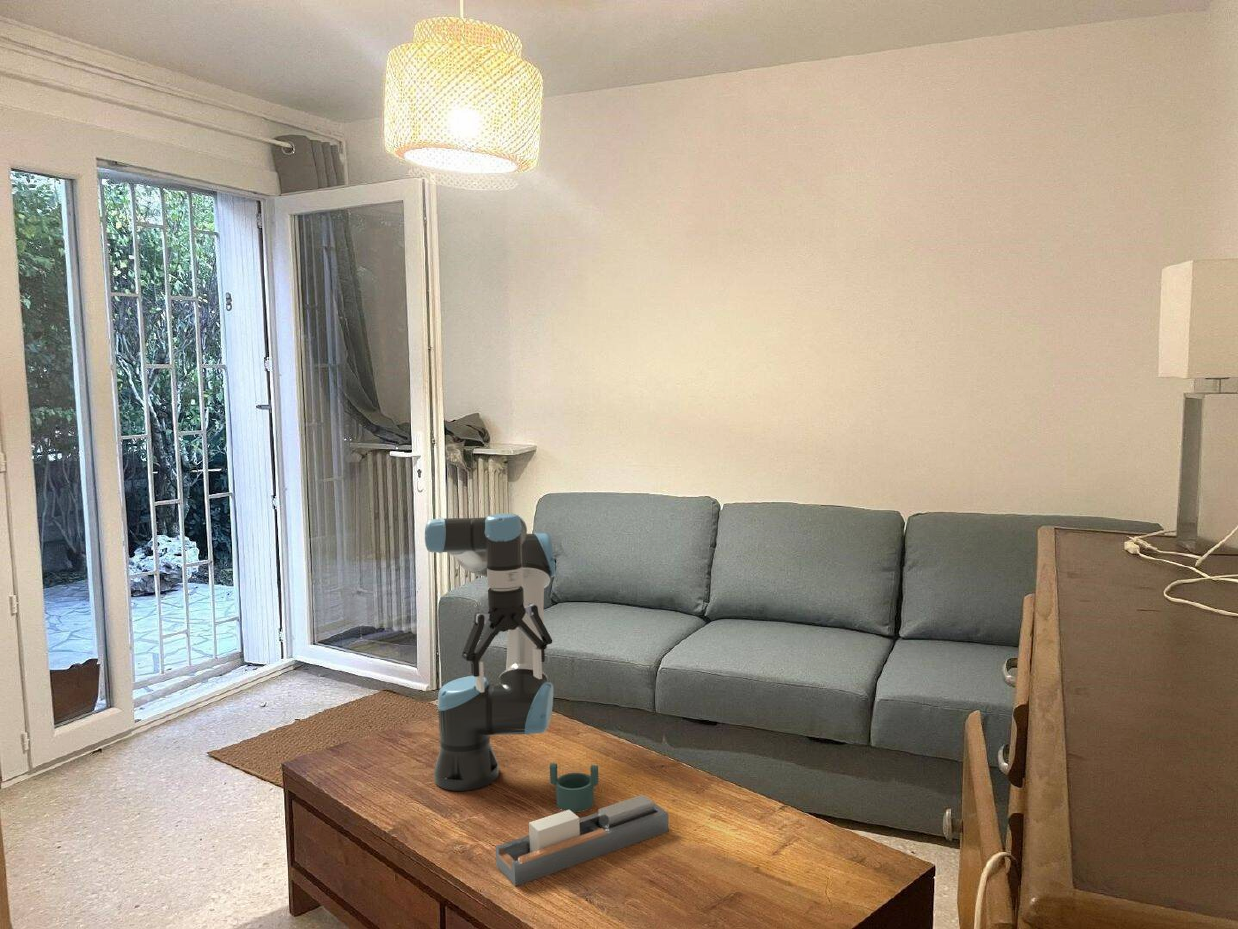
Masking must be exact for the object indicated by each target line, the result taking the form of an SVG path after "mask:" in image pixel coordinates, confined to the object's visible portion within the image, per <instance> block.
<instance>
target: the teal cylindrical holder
mask: <svg viewBox="0 0 1238 929" xmlns="http://www.w3.org/2000/svg"><path fill="white" fill-rule="evenodd" d="M589 769H590V774H587V773H583V772H569V773H566V774H562V775H560V776H559V777H558V763H554V762H553V763H550V765H549V781H550V782H549V783H550V784H551V785H553V786H555V795H556V796H555V800H556V807H557V808H558V809H559V810H560V809H562V810H561V811H563V810H565V811H566V810H570V811H572V812H573V813H579V812H578V811H581V812H584V811H583V810H585V811H587V810H590V809H591V808H592V807H593V806H594V802H595V794H594V792H595V791H594V788H595V787H597V786H598V785H599V783H600V782H599V781H600V778H599V765H596V764H590V768H589ZM592 805H593V806H592ZM586 809H587V810H586Z"/></svg>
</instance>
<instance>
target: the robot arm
mask: <svg viewBox="0 0 1238 929" xmlns="http://www.w3.org/2000/svg"><path fill="white" fill-rule="evenodd" d="M527 532H528V526H527V524H526V522H525V521H524V518H522V517H521V516H519V515H518V514H516V513H511V512H510V513H507V512H503V513H494V514H491V515H490V514H489V515H488V516H486V517H456V518H455V517H454V518H449V517H448V518H447V517H446V518H444V517H440V518H433V519H432V518H431V519H429V520H428V521H427V522H426V523H425V528H424V543H425V547H426V550H427V551H428V552H429V553H437V554H442V553H448V554H449V555H451V557H452V556H453V558H455V559H456V560H457V563H458V564H459V566H460V567H462V568H463V569H465V570H466V571H467V572H469V573H472V574H475V575H477V576H480V577H485V578H487V582H486V583H487V587H488V589H487V600H488V612H487V613H479V612H476V613H475V614H474V619H473V624H472V625H473V626H472V628H471V630H470V632H469V635H468V638H467V641H466V643H465V646H464V648H463V650H462V653H461V658H462V659H464V660H465V661H467V662H470V670H471V675H470V676H469V675H468V676H464V677H458V678H456V679H453V680H451V681H449V682H447V683H445V684H444V685H442V687H440V689H439V691H438V696H437V697H438V698H437V701H438V702H437V712H438V726H439V743H440V744H439V746H440V748H439V753H438V755H437V759H436V762H435V765H434V770H433V779H434V783H435V784H436V786H438V787H439V788H441V789H444V790H448V791H454V792H456V791H457V792H460V791H461V792H462V791H463V792H465V791H472V790H477V789H481V788H484V787H487V786H489V785H491V784H492V783H493V782H495V781H496V780H497V779H498V777H499V774H500V772H499V763H498V760H497V757H496V754H495V751H494V749H493V746H492V744H491V739H490V738H491V737H490V736H503V735H504V736H507V735H508V736H509V735H510V736H511V735H512V736H513V735H517V736H518V735H526V736H529V735H533V734H543V733H544V732H546V731H547V730H548V728H549V725H550V723H551V718H552V712H553V707H554V706H553V704H554V703H553V702H554V685H553V683H552V682H550V681H548V676H547V674H546V673H545V672H544V671H543V666H542V665H543V664H542V663H544V662H545V660H546V656H545V654H546V652H545V650H547V648H548V645H552V643H553V639H552V637H551V635H550V634H549V631H548V629H547V628H546V626H545V624H544V605H545V603H544V602H545V600H544V599H545V598H544V596H545V589H546V588H547V587H549V585H550V583H551V578H554V577H556V575H557V571H556V563H555V556H554V548H553V540H552V537H551V536H550V534H549V533H543V532H542V533H537V532H532V533H527ZM488 621H489V622H490V623H489V624H488V625H487V627H486V631H485V632H484V634H483V630H484V627H485V625H486V624H487V622H488ZM500 632H502V633H503V632H504V633H505V632H507V648H506V662H505V663H506V666H505V668H506V669H505V670H504V671H503V672H501V673H500V675H499V678H498V679H499V680H498V683H489V681H488V679H487V677H485V674H484V671H485V670H484V661H483V660H481V659H482V657H483V656H484V654H485V652H486V651H487V650H488V648H489V647H490V645H491V644H492V642H493V641H494V639H495V637H496V636H498V635H499V633H500ZM482 634H483V635H482ZM481 635H482V636H481Z"/></svg>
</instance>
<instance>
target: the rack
mask: <svg viewBox="0 0 1238 929" xmlns="http://www.w3.org/2000/svg"><path fill="white" fill-rule="evenodd" d="M669 826H670V825H669V812H668V811H667V810H665V809H664V808H662V807H661V806H659V805H658V804H656V803H655V802H654V800H651V799H650V797H648V796H647V795H644V794H641V795H638V796H635V797H632V798H628V799H626V800H623V801H619V802H617V803H613V804H611V805H607V806H604V807H601V808H599V809H598V812H596V813H592V814H589V815H587V816H586V815H585V816H584V817H581V818H580V817H579V828H580V836H578V837H575V838H572V839H569V840H566V841H563V842H561V843H558V844H555V845H552V846H549V847H546V848H543V849H540V850H537V851H534V852H531V853H530V838H529V835H526V836H523V837H520V838H517V839H514V840H509V841H508V842H505V843H502V844H498V845H495V865H496V867H497V869H499V871H500V872H501V873H502V874H503V875H504V876H505V877H506V878H507V879H508V880H509V881H510V883H511V884H513V885H514V886H515V887H518V886H521V885H523V884H526V883H528V882H532V881H535V880H537V879H540V878H543V877H546V876H548V875H552V874H554V873H557V872H559V871H561V870H564V869H568V868H571V867H573V866H577V865H579V864H581V863H584V862H587V861H590V860H593V859H596V858H598V857H602V856H604V855H607V854H610V853H612V852H614V851H615V852H616V851H618V850H620V849H623V848H626V847H629V846H632V845H634V844H637V843H640V842H643V841H645V840H648V839H652V838H653V837H657V836H660V835H662V834H665V833H668V832H669V829H670V828H669Z"/></svg>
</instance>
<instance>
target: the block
mask: <svg viewBox="0 0 1238 929" xmlns="http://www.w3.org/2000/svg"><path fill="white" fill-rule="evenodd" d="M579 819H580V817H579V816H578V815H576V813H575V812H572V811H570V810H566V811H563V810H562V811H561V812H558V813H554V814H551V815H549V816H545V817H541V818H539V819H536V820H533V821H529V822H528V834H529V838H530V853H531V852H534V851H537V850H540V849H543V848H546V847H549V846H552V845H555V844H558V843H561V842H563V841H566V840H569V839H572V838H575V837H578V836H580V828H579Z"/></svg>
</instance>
